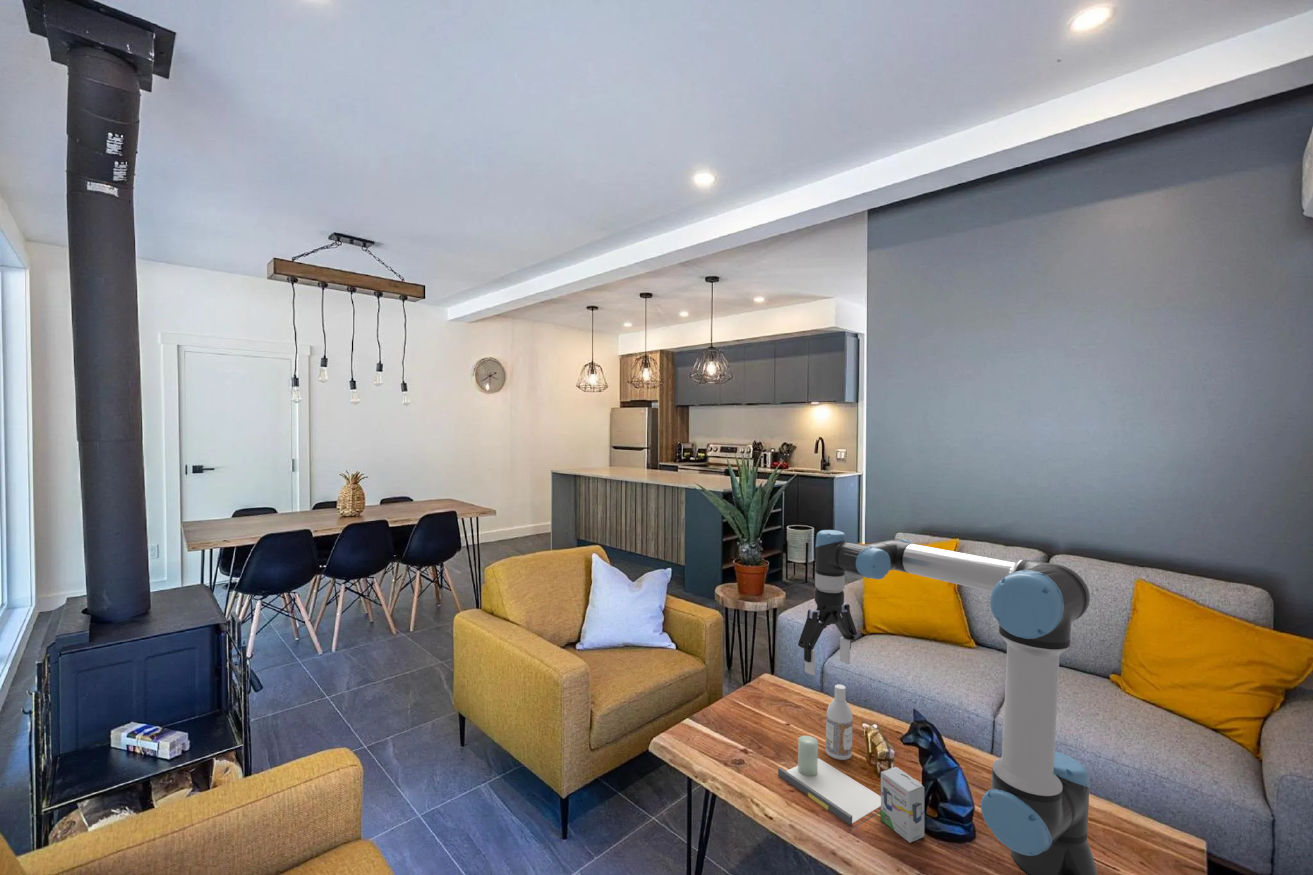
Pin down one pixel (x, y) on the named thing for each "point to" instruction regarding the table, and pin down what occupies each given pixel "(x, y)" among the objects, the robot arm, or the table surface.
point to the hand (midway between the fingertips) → (827, 667)
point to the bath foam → (839, 726)
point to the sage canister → (807, 756)
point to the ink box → (902, 804)
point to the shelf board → (835, 792)
